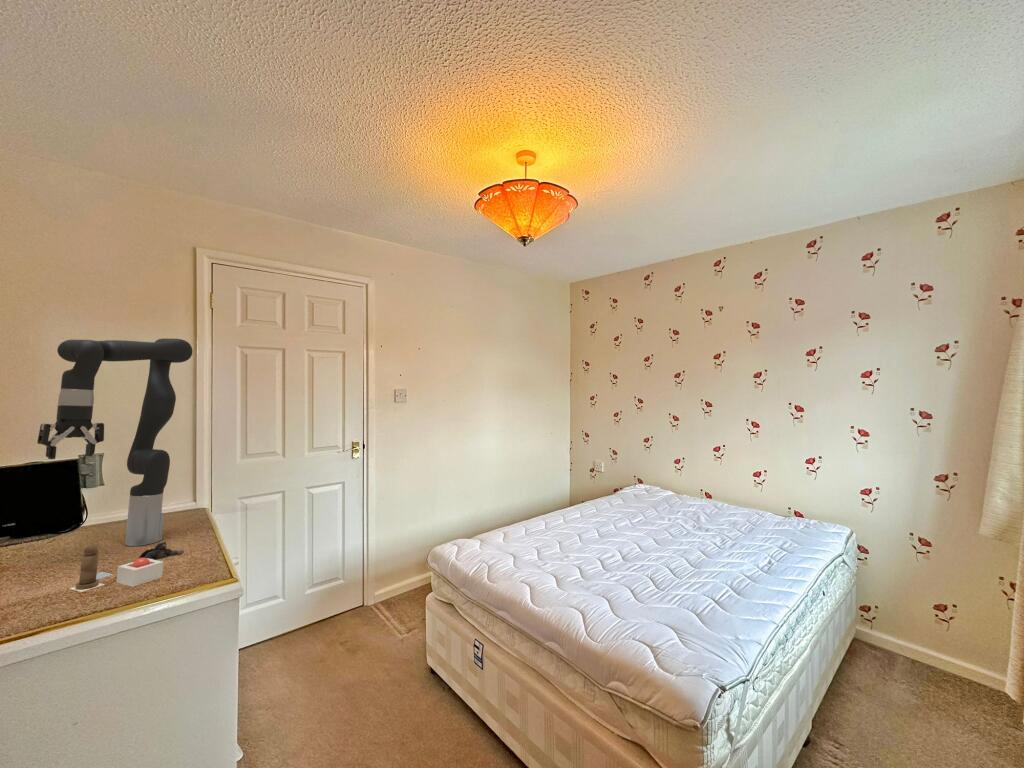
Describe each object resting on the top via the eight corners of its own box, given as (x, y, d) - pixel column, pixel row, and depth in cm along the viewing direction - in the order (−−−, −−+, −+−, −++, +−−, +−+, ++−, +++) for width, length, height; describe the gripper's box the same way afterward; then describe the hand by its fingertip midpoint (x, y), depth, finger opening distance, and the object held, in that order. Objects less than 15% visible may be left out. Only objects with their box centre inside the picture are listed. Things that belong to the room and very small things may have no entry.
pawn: (92, 581, 114) (96, 541, 115) (102, 584, 113) (106, 544, 113) (71, 588, 110) (75, 546, 111) (81, 590, 108) (85, 548, 109)
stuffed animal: (141, 568, 125) (137, 538, 131) (136, 591, 128) (131, 560, 134) (190, 558, 134) (183, 530, 140) (183, 579, 137) (177, 551, 143)
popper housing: (145, 574, 121) (147, 558, 121) (162, 577, 119) (163, 561, 119) (116, 583, 114) (118, 566, 115) (133, 587, 112) (134, 570, 112)
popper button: (143, 574, 119) (145, 554, 119) (152, 576, 118) (154, 556, 118) (126, 579, 115) (128, 559, 116) (136, 581, 114) (138, 561, 114)
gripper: (97, 404, 136) (92, 454, 135) (36, 403, 122) (30, 459, 121) (112, 405, 133) (107, 456, 132) (51, 404, 120) (45, 461, 119)
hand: (70, 457), depth 127 cm, fingers open, 8 cm apart
